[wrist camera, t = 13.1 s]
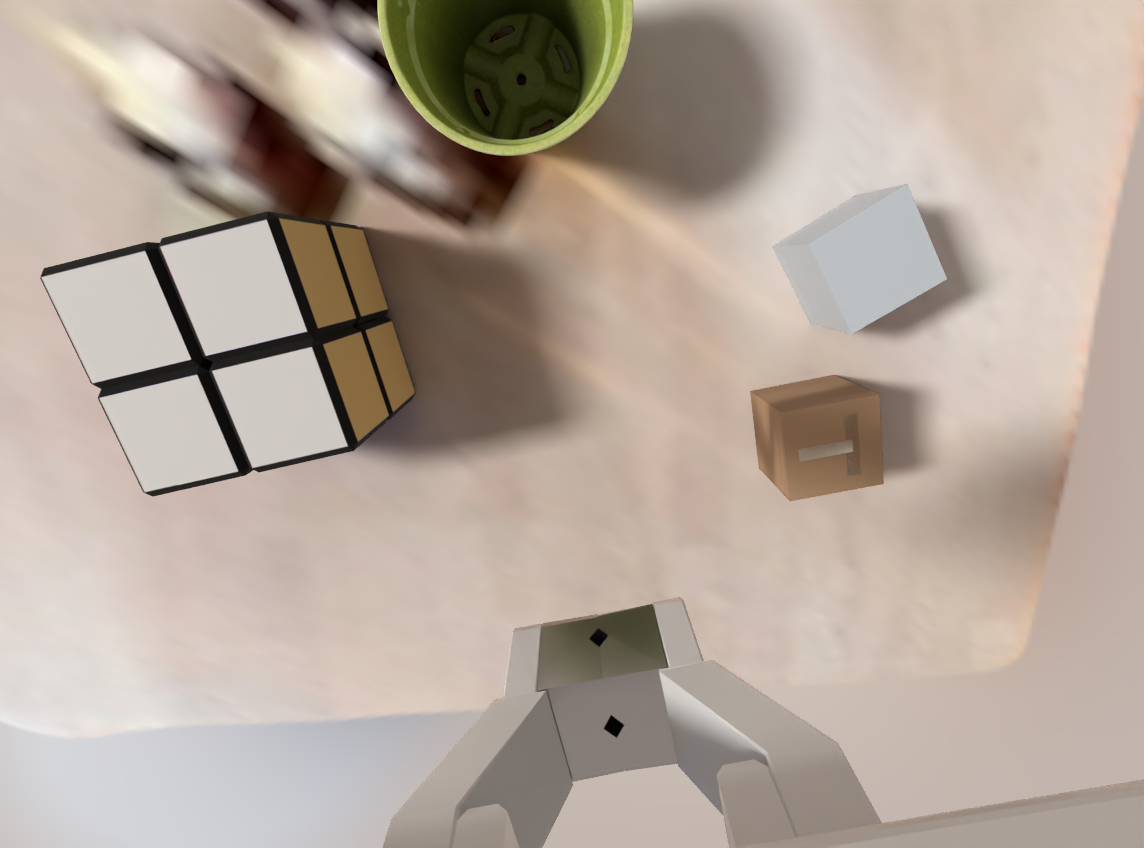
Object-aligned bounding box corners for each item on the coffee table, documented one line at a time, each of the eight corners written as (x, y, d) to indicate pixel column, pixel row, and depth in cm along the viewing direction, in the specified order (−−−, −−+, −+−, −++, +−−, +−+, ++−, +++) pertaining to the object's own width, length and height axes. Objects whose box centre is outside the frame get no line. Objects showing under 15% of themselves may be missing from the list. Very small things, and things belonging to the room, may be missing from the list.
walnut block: (879, 394, 28) (834, 374, 33) (781, 413, 29) (750, 391, 33) (883, 483, 30) (839, 452, 35) (789, 501, 30) (759, 468, 35)
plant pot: (644, 129, 30) (674, 78, 21) (487, 214, 31) (457, 198, 22) (563, -62, 27) (561, -205, 19) (397, 38, 28) (325, -55, 20)
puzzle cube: (261, 433, 34) (140, 501, 25) (193, 267, 31) (27, 270, 22) (418, 397, 34) (358, 451, 24) (363, 224, 31) (270, 207, 21)
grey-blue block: (771, 246, 31) (808, 243, 26) (854, 196, 31) (907, 183, 26) (809, 323, 32) (851, 334, 28) (889, 276, 32) (947, 279, 27)
